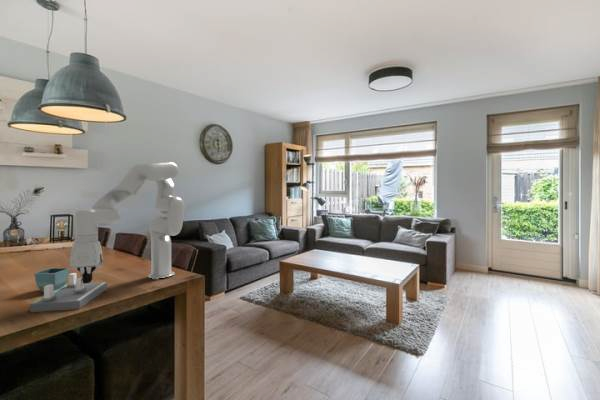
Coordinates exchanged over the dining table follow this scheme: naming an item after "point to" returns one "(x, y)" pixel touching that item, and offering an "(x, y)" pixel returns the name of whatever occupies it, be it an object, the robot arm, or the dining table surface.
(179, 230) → the robot arm
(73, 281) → the cylinder
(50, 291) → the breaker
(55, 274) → the flower pot
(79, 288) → the middle breaker
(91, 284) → the grey flat block
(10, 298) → the dining table surface
